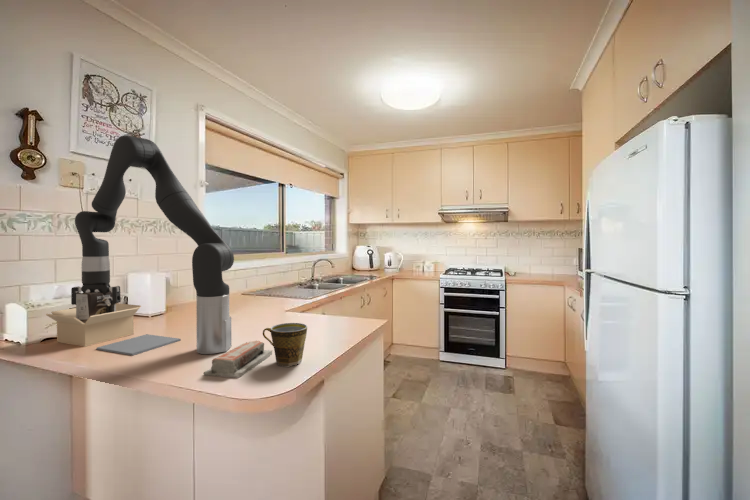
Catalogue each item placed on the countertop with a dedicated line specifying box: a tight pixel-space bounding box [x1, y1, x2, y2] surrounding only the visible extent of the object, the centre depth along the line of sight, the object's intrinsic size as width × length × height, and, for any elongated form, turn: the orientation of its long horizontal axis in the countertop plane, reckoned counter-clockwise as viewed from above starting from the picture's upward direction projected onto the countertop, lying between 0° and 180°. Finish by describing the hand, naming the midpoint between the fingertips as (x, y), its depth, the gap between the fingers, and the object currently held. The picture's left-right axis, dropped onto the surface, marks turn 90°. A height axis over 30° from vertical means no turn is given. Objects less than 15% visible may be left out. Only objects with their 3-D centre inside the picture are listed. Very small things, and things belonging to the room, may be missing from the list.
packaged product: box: [203, 340, 273, 379], centre depth 91 cm, size 18×5×10 cm
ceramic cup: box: [262, 322, 308, 367], centre depth 93 cm, size 13×10×10 cm
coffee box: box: [75, 290, 116, 323], centre depth 115 cm, size 9×6×16 cm
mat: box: [96, 333, 181, 356], centre depth 107 cm, size 16×16×1 cm
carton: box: [45, 302, 142, 347], centre depth 115 cm, size 20×21×10 cm
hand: (96, 316), depth 115 cm, fingers closed on coffee box, 7 cm apart
